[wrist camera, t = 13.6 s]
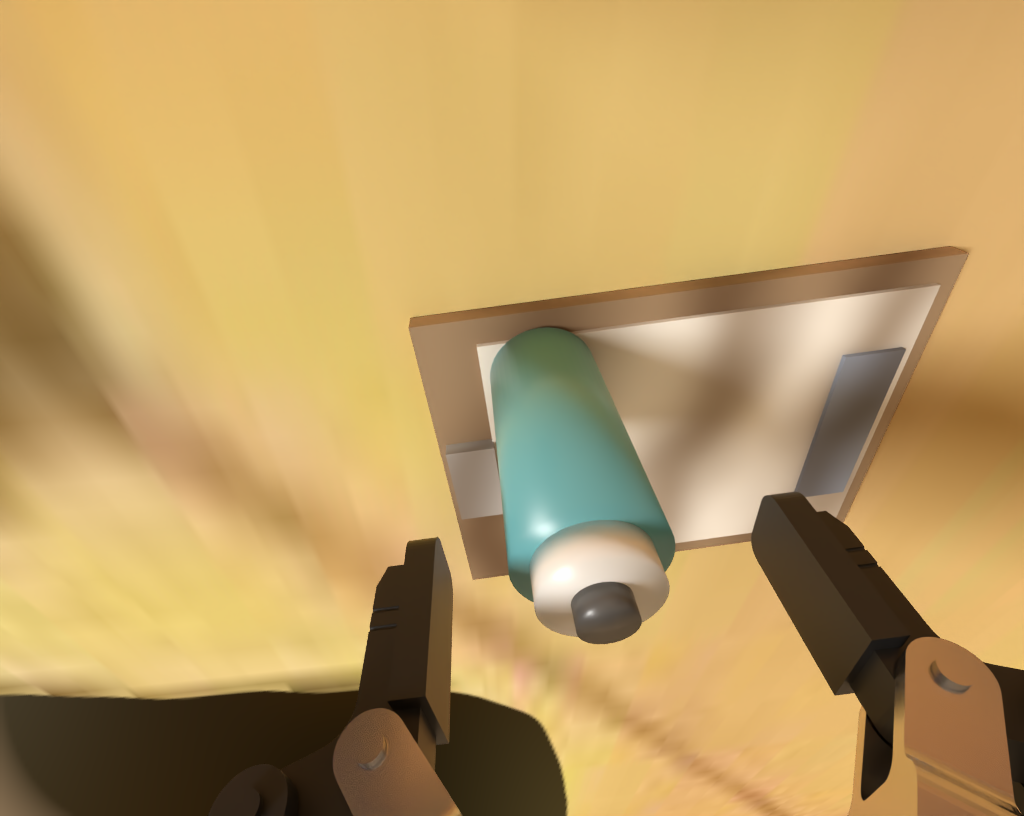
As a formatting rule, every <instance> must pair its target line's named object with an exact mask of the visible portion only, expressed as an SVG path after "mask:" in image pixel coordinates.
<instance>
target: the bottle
mask: <svg viewBox="0 0 1024 816" xmlns="http://www.w3.org/2000/svg"><path fill="white" fill-rule="evenodd" d="M490 384H491V394H492V405H493V415H494V426H495V436H496V447H497V457H498V467H499V478H500V488H501V499H502V509H503V520H504V530H505V541H506V551H507V562H508V572H509V577H510V580H511V582H512V584H513V586H514V587H515V588H516V590H517V591H518V592H519V593H520V594H521V595H523V596H524V597H525V598H527V599H528V600H530V601H532V602H534V607H535V612H536V616H537V618H538V619H539V621H540V622H541V623H542V624H543V625H544V626H546V627H547V628H549V629H550V630H552V631H555V632H557V633H560V634H563V635H568V636H575V637H579V638H580V639H581V640H583V641H585V642H588V643H592V644H608V643H614V642H617V641H621V640H623V639H626V638H628V637H629V636H631V635H633V634H634V633H635V632H636V631H637V630H638V629H639V628H640V626H641V623H642V622H644V621H645V620H647V619H648V618H650V617H651V616H653V615H654V614H655V613H656V612H657V611H658V610H659V609H660V608H661V607H662V606H663V604H664V603H665V601H666V599H667V597H668V594H669V581H668V579H667V576H666V574H665V571H666V570H667V569H668V567H669V566H670V564H671V562H672V560H673V557H674V553H675V538H674V535H673V532H672V530H671V528H670V526H669V523H668V521H667V519H666V517H665V515H664V512H663V510H662V508H661V506H660V503H659V501H658V499H657V497H656V495H655V492H654V490H653V488H652V486H651V484H650V481H649V479H648V477H647V475H646V472H645V470H644V468H643V466H642V464H641V461H640V459H639V457H638V455H637V453H636V450H635V448H634V446H633V444H632V442H631V439H630V437H629V435H628V433H627V430H626V428H625V426H624V424H623V422H622V419H621V417H620V415H619V413H618V411H617V408H616V406H615V404H614V402H613V399H612V397H611V395H610V393H609V391H608V388H607V386H606V384H605V382H604V380H603V377H602V375H601V373H600V371H599V368H598V366H597V364H596V362H595V360H594V357H593V355H592V353H591V351H590V349H589V348H588V346H587V345H586V344H585V342H584V341H583V340H581V339H580V338H579V337H578V336H576V335H574V334H573V333H571V332H568V331H566V330H563V329H558V328H550V327H544V328H536V329H531V330H528V331H525V332H523V333H520V334H518V335H517V336H515V337H513V338H512V339H510V340H509V341H508V342H507V343H506V344H505V345H504V346H503V347H502V348H501V349H500V350H499V351H498V353H497V354H496V356H495V358H494V360H493V363H492V366H491V370H490Z"/></svg>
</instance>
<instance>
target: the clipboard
mask: <svg viewBox="0 0 1024 816" xmlns="http://www.w3.org/2000/svg"><path fill="white" fill-rule="evenodd" d="M968 255H969V253H967V252H964V251H962V250H959V249H956V248H954V247H951V246H949V247H941V248H933V249H926V250H918V251H911V252H903V253H896V254H888V255H881V256H873V257H866V258H858V259H851V260H843V261H836V262H828V263H821V264H813V265H806V266H798V267H790V268H783V269H775V270H768V271H760V272H753V273H745V274H738V275H730V276H723V277H715V278H708V279H700V280H693V281H685V282H678V283H670V284H663V285H655V286H648V287H640V288H632V289H625V290H617V291H610V292H602V293H595V294H587V295H580V296H572V297H565V298H557V299H550V300H542V301H535V302H527V303H520V304H512V305H505V306H497V307H489V308H482V309H474V310H467V311H459V312H452V313H444V314H437V315H429V316H422V317H414V318H410V323H409V331H410V335H411V339H412V343H413V347H414V351H415V355H416V359H417V363H418V366H419V370H420V374H421V378H422V382H423V386H424V390H425V394H426V398H427V402H428V406H429V410H430V413H431V417H432V421H433V425H434V429H435V433H436V437H437V441H438V445H439V449H440V453H441V457H442V461H443V464H444V468H445V472H446V476H447V480H448V484H449V488H450V492H451V496H452V500H453V504H454V508H455V511H456V515H457V519H458V523H459V527H460V531H461V535H462V539H463V543H464V547H465V551H466V555H467V558H468V562H469V566H470V570H471V574H472V578H473V580H475V579H482V578H489V577H497V576H504V575H509V572H508V562H507V551H506V541H505V530H504V520H503V509H502V499H501V488H500V478H499V467H498V457H497V447H496V436H495V426H494V415H493V405H492V394H491V384H490V370H491V366H492V363H493V360H494V358H495V356H496V354H497V353H498V351H499V350H500V349H501V348H502V347H503V346H504V345H505V344H506V343H507V342H508V341H509V340H510V339H512V338H513V337H515V336H517V335H518V334H520V333H523V332H525V331H528V330H531V329H536V328H544V327H550V328H558V329H563V330H566V331H568V332H571V333H573V334H574V335H576V336H578V337H579V338H580V339H581V340H583V341H584V342H585V344H586V345H587V346H588V348H589V349H590V351H591V353H592V355H593V357H594V360H595V362H596V364H597V366H598V368H599V371H600V373H601V375H602V377H603V380H604V382H605V384H606V386H607V388H608V391H609V393H610V395H611V397H612V399H613V402H614V404H615V406H616V408H617V411H618V413H619V415H620V417H621V419H622V422H623V424H624V426H625V428H626V430H627V433H628V435H629V437H630V439H631V442H632V444H633V446H634V448H635V450H636V453H637V455H638V457H639V459H640V461H641V464H642V466H643V468H644V470H645V472H646V475H647V477H648V479H649V481H650V484H651V486H652V488H653V490H654V492H655V495H656V497H657V499H658V501H659V503H660V506H661V508H662V510H663V512H664V515H665V517H666V519H667V521H668V523H669V526H670V528H671V530H672V532H673V535H674V538H675V552H676V551H683V550H691V549H698V548H705V547H712V546H719V545H726V544H734V543H741V542H748V541H751V534H752V530H753V527H754V524H755V520H756V517H757V514H758V510H759V507H760V504H761V500H762V498H763V497H764V496H766V495H772V494H780V493H788V492H800V493H801V494H803V495H804V496H805V498H806V499H807V500H808V501H809V503H810V504H811V505H812V507H813V508H814V509H815V510H816V512H819V511H827V512H828V513H830V514H831V515H833V516H834V517H835V518H837V519H838V520H840V521H841V522H842V523H843V522H844V520H845V518H846V515H847V513H848V511H849V509H850V507H851V505H852V503H853V500H854V498H855V496H856V494H857V492H858V490H859V488H860V485H861V483H862V481H863V479H864V477H865V475H866V473H867V471H868V468H869V466H870V464H871V462H872V460H873V458H874V456H875V453H876V451H877V449H878V447H879V445H880V443H881V441H882V438H883V436H884V434H885V432H886V430H887V428H888V426H889V423H890V421H891V419H892V417H893V415H894V413H895V411H896V408H897V406H898V404H899V402H900V400H901V398H902V396H903V394H904V391H905V389H906V387H907V385H908V383H909V381H910V379H911V376H912V374H913V372H914V370H915V368H916V366H917V364H918V361H919V359H920V357H921V355H922V353H923V351H924V349H925V346H926V344H927V342H928V340H929V338H930V336H931V334H932V332H933V329H934V327H935V325H936V323H937V321H938V319H939V317H940V314H941V312H942V310H943V308H944V306H945V304H946V302H947V299H948V297H949V295H950V293H951V291H952V289H953V287H954V284H955V282H956V280H957V278H958V276H959V274H960V272H961V269H962V267H963V265H964V263H965V261H966V259H967V257H968Z"/></svg>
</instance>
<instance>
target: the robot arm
mask: <svg viewBox="0 0 1024 816" xmlns="http://www.w3.org/2000/svg"><path fill="white" fill-rule="evenodd" d="M751 543H752V548H753V552H754V554H755V557H756V559H757V561H758V563H759V564H760V566H761V568H762V569H763V571H764V573H765V575H766V576H767V578H768V580H769V582H770V583H771V585H772V587H773V589H774V590H775V592H776V594H777V596H778V597H779V599H780V601H781V603H782V604H783V606H784V608H785V610H786V611H787V613H788V615H789V617H790V618H791V620H792V622H793V623H794V625H795V627H796V629H797V630H798V632H799V634H800V636H801V637H802V639H803V641H804V643H805V644H806V646H807V648H808V650H809V651H810V653H811V655H812V657H813V658H814V660H815V662H816V664H817V665H818V667H819V669H820V671H821V672H822V674H823V676H824V678H825V679H826V681H827V683H828V684H829V686H830V688H831V690H832V691H833V693H834V695H842V694H850V693H855V695H856V696H857V698H858V700H859V701H860V703H861V705H862V706H861V708H860V712H859V721H858V733H857V746H856V758H855V770H854V782H853V794H852V802H851V806H850V810H849V813H848V815H847V816H1024V670H1020V669H1014V668H1009V667H1003V666H998V665H993V664H989V663H984V662H982V661H981V660H980V659H979V658H977V657H976V656H975V655H974V654H972V653H971V652H969V651H968V650H966V649H965V648H963V647H961V646H959V645H957V644H955V643H953V642H950V641H947V640H944V639H941V638H940V637H939V636H937V635H936V634H935V633H934V632H933V630H932V629H931V628H930V627H929V626H928V625H927V624H926V622H925V621H924V620H923V619H922V617H921V616H920V615H919V614H918V612H917V611H916V610H915V609H914V607H913V606H912V605H911V604H910V602H909V601H908V600H907V599H906V598H905V596H904V595H903V594H902V593H901V591H900V590H899V589H898V588H897V586H896V585H895V584H894V583H893V581H892V580H891V579H890V578H889V576H888V575H887V574H886V573H885V572H884V570H883V569H882V568H881V567H878V565H877V562H876V560H875V559H874V558H873V557H872V555H871V554H870V553H869V552H868V550H865V549H864V546H863V544H862V543H861V542H860V541H859V539H858V538H857V537H856V536H855V534H854V533H853V532H852V531H851V529H850V528H849V527H848V526H847V525H845V524H844V523H842V522H841V521H840V520H838V519H837V518H835V517H834V516H833V515H831V514H830V513H828V512H827V511H819V512H816V510H815V509H814V508H813V507H812V505H811V504H810V503H809V501H808V500H807V499H806V498H805V496H804V495H803V494H801V493H800V492H788V493H780V494H772V495H766V496H764V497H763V498H762V500H761V504H760V507H759V510H758V514H757V517H756V520H755V524H754V527H753V530H752V534H751ZM452 611H453V588H452V579H451V574H450V570H449V567H448V564H447V561H446V557H445V554H444V551H443V548H442V545H441V541H440V539H439V538H438V537H436V538H429V539H421V540H414V541H409V542H408V543H407V546H406V553H405V561H404V565H398V566H390V567H388V568H387V570H386V572H385V573H384V575H383V577H382V579H381V580H380V582H379V584H378V585H377V587H376V593H375V599H374V605H373V613H372V617H371V622H370V632H369V634H368V640H367V646H366V652H365V658H364V663H363V669H362V675H361V681H360V687H359V693H358V699H357V703H356V707H355V709H354V712H353V714H352V716H351V718H350V720H349V722H348V723H347V725H346V726H345V728H344V729H343V730H342V732H341V733H340V734H339V735H338V736H337V737H336V738H335V739H334V740H333V741H332V742H330V743H329V744H328V745H326V746H325V747H323V748H321V749H320V750H318V751H316V752H314V753H312V754H310V755H308V756H306V757H304V758H302V759H301V760H298V761H296V762H294V763H293V764H290V765H288V766H286V767H285V768H283V769H281V770H279V769H278V768H276V767H275V766H272V765H268V764H261V765H256V766H252V767H250V768H248V769H246V770H244V771H242V772H241V773H239V774H238V775H237V776H235V777H234V778H233V779H232V780H231V781H230V782H229V783H228V784H227V785H226V786H225V787H224V789H223V790H222V791H221V792H220V794H219V795H218V797H217V798H216V800H215V802H214V803H213V805H212V807H211V810H210V812H209V815H208V816H462V814H461V813H460V811H459V810H458V808H457V806H456V805H455V803H454V802H453V800H452V798H451V797H450V795H449V794H448V792H447V791H446V789H445V788H444V786H443V784H442V783H441V781H440V779H439V778H438V776H437V775H436V773H435V751H436V750H435V749H436V745H440V744H448V743H449V722H450V686H451V648H452ZM1016 806H1017V807H1018V809H1019V810H1020V812H1021V813H1022V814H1021V813H1020V812H1019V810H1018V809H1017V807H1016Z"/></svg>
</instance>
